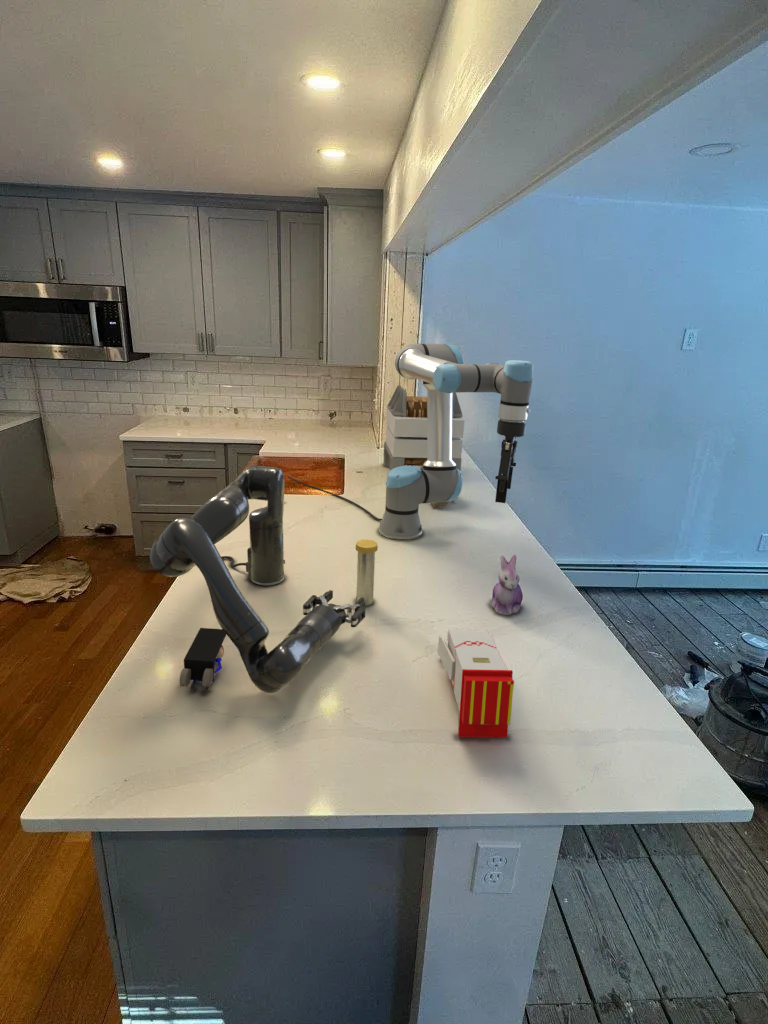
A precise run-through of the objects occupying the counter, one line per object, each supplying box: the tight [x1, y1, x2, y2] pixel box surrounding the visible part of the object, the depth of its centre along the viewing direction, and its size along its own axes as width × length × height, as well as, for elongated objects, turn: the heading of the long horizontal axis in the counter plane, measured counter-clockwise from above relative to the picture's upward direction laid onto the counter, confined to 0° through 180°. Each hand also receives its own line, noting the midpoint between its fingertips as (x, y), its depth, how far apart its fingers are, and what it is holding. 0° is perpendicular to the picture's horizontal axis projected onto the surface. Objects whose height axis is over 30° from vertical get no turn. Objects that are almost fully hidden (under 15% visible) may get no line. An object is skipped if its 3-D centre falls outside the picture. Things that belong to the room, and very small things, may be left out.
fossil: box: [429, 500, 455, 509], centre depth 234 cm, size 22×10×15 cm
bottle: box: [355, 551, 376, 607], centre depth 150 cm, size 4×4×17 cm
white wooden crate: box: [383, 384, 465, 473], centre depth 268 cm, size 34×33×41 cm
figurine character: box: [178, 627, 227, 692], centre depth 119 cm, size 7×8×15 cm
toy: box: [437, 628, 515, 738], centre depth 117 cm, size 12×13×30 cm
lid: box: [355, 539, 379, 554], centre depth 147 cm, size 6×6×2 cm
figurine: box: [491, 554, 524, 616], centre depth 150 cm, size 9×10×15 cm
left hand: (347, 597), depth 141 cm, fingers open, 8 cm apart
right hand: (503, 495), depth 160 cm, fingers open, 13 cm apart
